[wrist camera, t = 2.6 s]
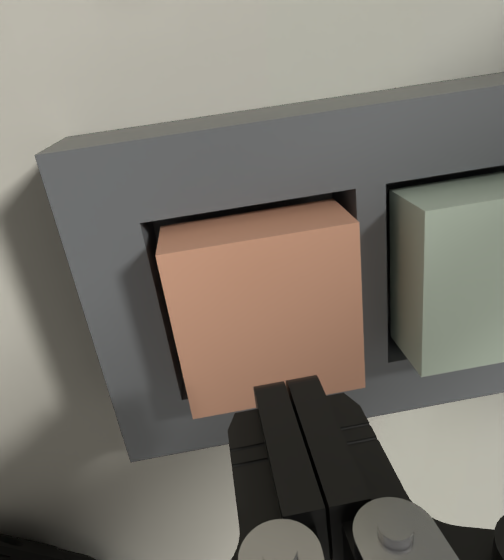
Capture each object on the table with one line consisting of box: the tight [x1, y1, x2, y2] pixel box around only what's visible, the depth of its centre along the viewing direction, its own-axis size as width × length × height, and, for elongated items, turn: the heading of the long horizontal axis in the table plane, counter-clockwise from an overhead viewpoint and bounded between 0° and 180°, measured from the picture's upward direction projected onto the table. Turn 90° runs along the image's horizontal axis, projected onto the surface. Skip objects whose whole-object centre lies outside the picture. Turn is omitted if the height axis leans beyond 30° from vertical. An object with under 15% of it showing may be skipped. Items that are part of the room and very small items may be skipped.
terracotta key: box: [155, 199, 365, 419], centre depth 16 cm, size 6×6×3 cm
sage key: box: [389, 171, 504, 377], centre depth 17 cm, size 6×6×3 cm
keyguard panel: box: [35, 72, 504, 462], centre depth 19 cm, size 28×12×4 cm, turn 97°
